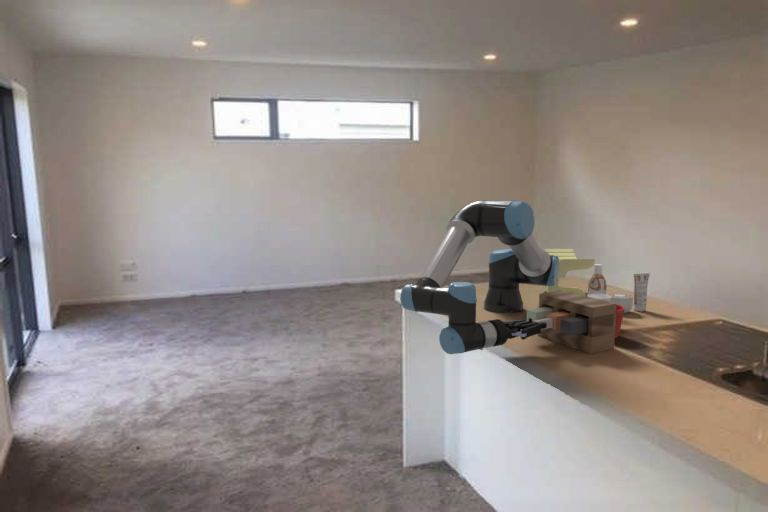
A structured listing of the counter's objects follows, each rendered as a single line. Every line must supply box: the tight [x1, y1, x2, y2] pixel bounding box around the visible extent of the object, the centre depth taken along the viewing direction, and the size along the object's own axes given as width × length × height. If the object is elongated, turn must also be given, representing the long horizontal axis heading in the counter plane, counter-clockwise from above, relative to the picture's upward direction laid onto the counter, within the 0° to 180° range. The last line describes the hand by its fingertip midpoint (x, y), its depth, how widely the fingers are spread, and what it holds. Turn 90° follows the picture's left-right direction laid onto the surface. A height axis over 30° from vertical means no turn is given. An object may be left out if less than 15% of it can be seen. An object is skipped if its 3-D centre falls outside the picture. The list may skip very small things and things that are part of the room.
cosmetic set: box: [587, 263, 651, 314], centre depth 222 cm, size 25×9×19 cm, turn 102°
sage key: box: [526, 306, 554, 322], centre depth 188 cm, size 4×10×4 cm, turn 119°
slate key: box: [560, 315, 589, 336], centre depth 176 cm, size 4×10×4 cm, turn 119°
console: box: [537, 291, 616, 355], centre depth 185 cm, size 22×10×14 cm, turn 29°
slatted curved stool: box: [541, 248, 596, 296], centre depth 253 cm, size 30×16×18 cm, turn 179°
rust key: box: [546, 310, 571, 330], centre depth 182 cm, size 4×10×4 cm, turn 119°
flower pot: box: [615, 305, 625, 339], centre depth 192 cm, size 11×11×10 cm
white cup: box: [586, 294, 611, 302], centre depth 206 cm, size 8×8×10 cm
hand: (550, 322), depth 180 cm, fingers closed
